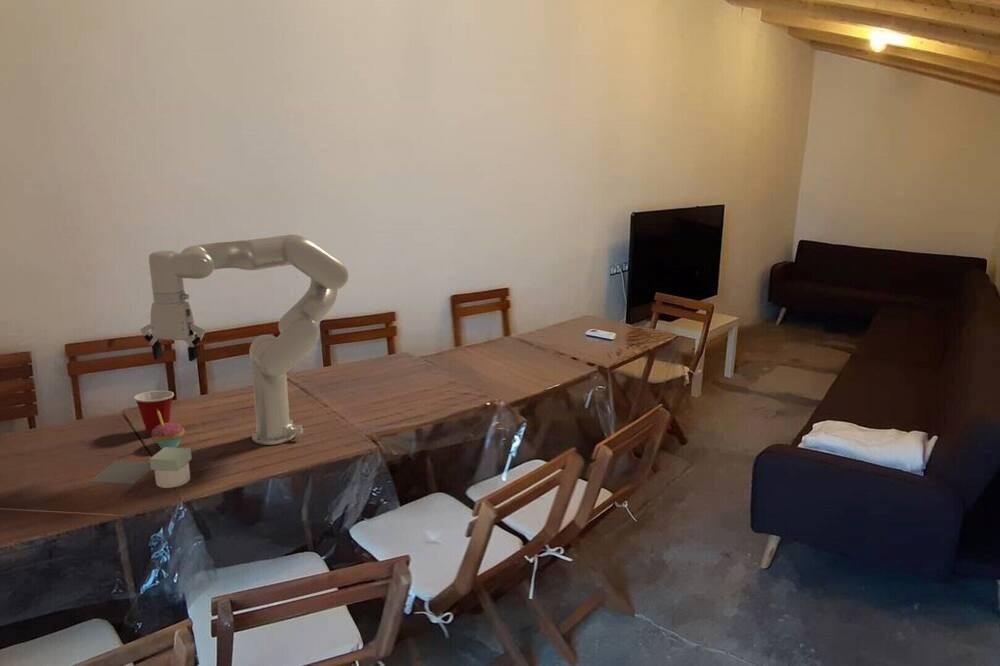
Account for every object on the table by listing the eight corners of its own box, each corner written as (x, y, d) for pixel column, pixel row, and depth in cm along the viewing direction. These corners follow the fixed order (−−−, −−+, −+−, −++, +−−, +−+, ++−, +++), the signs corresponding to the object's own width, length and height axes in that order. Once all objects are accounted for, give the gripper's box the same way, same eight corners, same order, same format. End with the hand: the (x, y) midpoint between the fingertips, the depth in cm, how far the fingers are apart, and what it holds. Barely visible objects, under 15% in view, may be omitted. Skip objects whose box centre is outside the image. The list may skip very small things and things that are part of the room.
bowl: (196, 475, 177) (194, 457, 176) (180, 489, 170) (178, 472, 168) (166, 473, 178) (164, 456, 176) (150, 488, 170) (147, 470, 169)
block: (191, 458, 175) (190, 448, 175) (177, 471, 169) (176, 460, 168) (165, 457, 176) (164, 447, 175) (151, 469, 169) (149, 459, 168)
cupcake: (153, 455, 188) (148, 415, 185) (152, 443, 195) (148, 405, 192) (186, 449, 192) (182, 410, 188) (185, 438, 199) (181, 400, 196)
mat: (158, 464, 183) (158, 462, 183) (133, 485, 171) (133, 483, 171) (116, 462, 183) (116, 460, 183) (88, 483, 172) (87, 481, 172)
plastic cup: (185, 425, 208) (181, 389, 205) (165, 439, 198) (160, 401, 195) (152, 423, 209) (147, 387, 206) (130, 437, 199) (125, 399, 196)
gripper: (207, 296, 180) (213, 356, 185) (145, 293, 181) (152, 353, 186) (193, 302, 173) (200, 364, 178) (129, 299, 174) (137, 361, 178)
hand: (175, 358), depth 182 cm, fingers open, 9 cm apart
